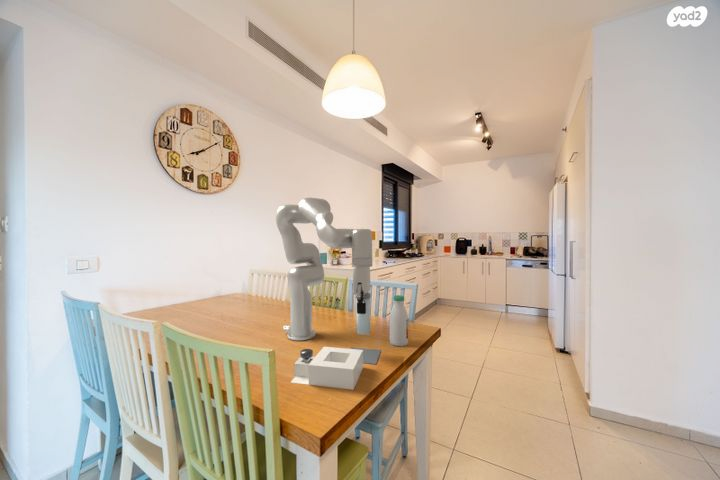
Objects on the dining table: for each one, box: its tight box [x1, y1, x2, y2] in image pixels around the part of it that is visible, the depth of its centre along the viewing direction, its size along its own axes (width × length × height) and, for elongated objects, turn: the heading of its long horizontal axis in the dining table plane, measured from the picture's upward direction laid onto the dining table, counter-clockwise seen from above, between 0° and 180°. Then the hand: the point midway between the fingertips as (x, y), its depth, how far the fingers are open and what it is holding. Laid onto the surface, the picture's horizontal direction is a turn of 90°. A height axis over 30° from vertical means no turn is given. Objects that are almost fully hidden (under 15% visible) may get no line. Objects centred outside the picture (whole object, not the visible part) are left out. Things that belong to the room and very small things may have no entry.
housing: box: [289, 346, 364, 391], centre depth 93 cm, size 20×14×7 cm
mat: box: [349, 347, 382, 366], centre depth 107 cm, size 12×12×1 cm
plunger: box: [299, 348, 314, 363], centre depth 94 cm, size 4×4×6 cm
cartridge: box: [354, 292, 372, 335], centre depth 106 cm, size 6×6×14 cm
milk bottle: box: [389, 294, 409, 347], centre depth 121 cm, size 8×8×20 cm
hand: (363, 310), depth 106 cm, fingers closed on cartridge, 5 cm apart
